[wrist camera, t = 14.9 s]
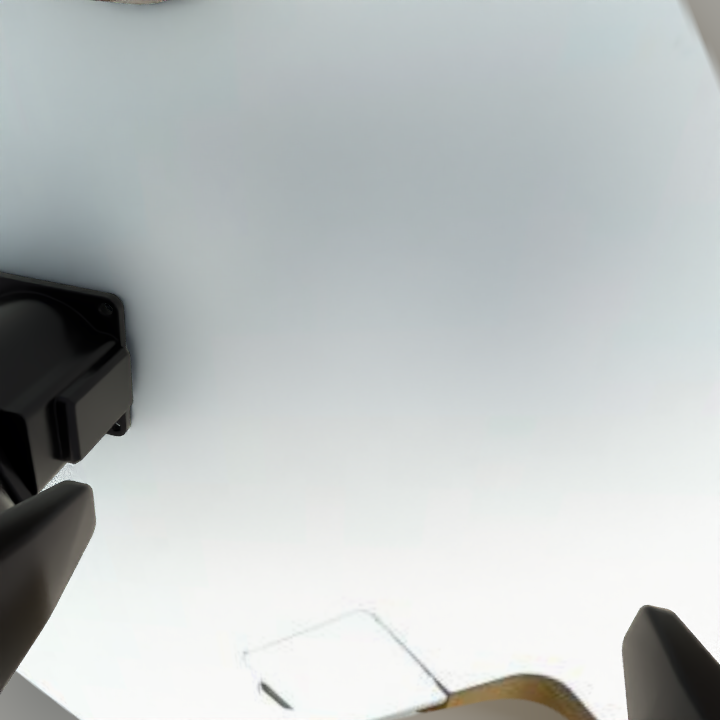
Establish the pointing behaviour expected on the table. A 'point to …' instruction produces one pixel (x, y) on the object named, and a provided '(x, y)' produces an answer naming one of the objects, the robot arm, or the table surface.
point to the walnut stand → (134, 1)
